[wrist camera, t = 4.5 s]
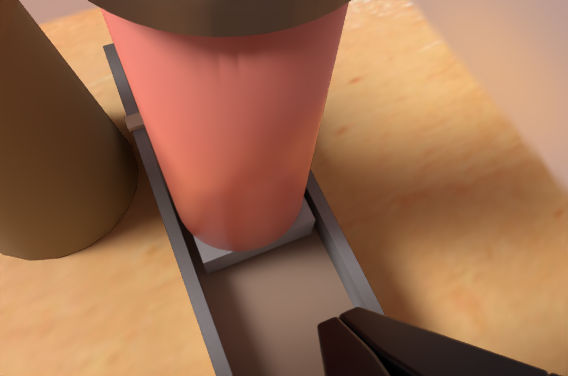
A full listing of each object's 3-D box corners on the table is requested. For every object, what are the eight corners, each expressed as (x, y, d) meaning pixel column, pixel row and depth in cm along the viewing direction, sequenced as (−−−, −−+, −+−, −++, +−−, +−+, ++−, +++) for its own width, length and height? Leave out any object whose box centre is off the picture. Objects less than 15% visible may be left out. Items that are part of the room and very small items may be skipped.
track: (421, 429, 14) (452, 433, 12) (263, 514, 13) (265, 534, 11) (234, 51, 20) (232, 8, 18) (116, 85, 19) (98, 43, 17)
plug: (335, 243, 15) (522, -147, 5) (194, 299, 14) (20, -41, 3) (278, 128, 17) (317, -337, 6) (150, 170, 16) (-54, -306, 5)
